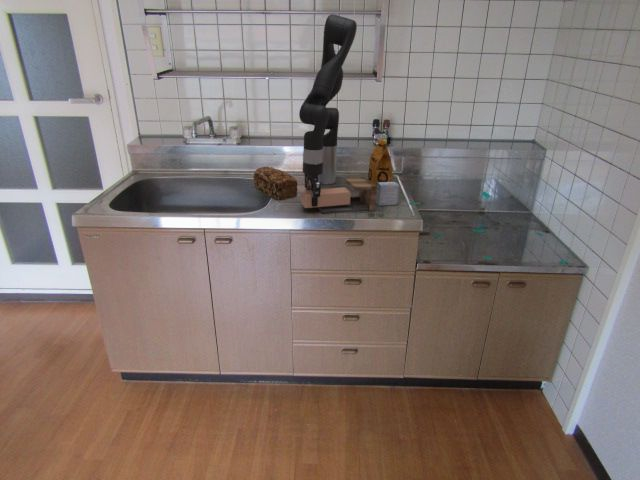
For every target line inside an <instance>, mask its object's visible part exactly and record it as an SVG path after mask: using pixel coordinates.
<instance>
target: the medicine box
mask: <svg viewBox="0 0 640 480" xmlns="http://www.w3.org/2000/svg"><path fill="white" fill-rule="evenodd" d="M399 189H400V184H399V183H397V182H396V181H391V182H378V183H377V193H376V197H375V204H377V205H378V207H379V206H380V207H381V206H382V207H383V206H396V205H398V200H399V199H398V198H399V191H400V190H399Z"/></svg>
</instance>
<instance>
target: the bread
mask: <svg viewBox="0 0 640 480" xmlns="http://www.w3.org/2000/svg"><path fill="white" fill-rule="evenodd" d="M253 184H254V188H255V189H256V191H259V192H261V193H262V194H265V195H266V196H268V197H270V198H271V197H272V198H273V199H276V200H279V201H280V200H286V199H287V198H293V197H296V196H297V195H298V194H297V193H298V181H297V179H296V177H294V176H293V175H290V173H288V172H286V171H284V170H281V169H278V168H275V167H273V166H271V167H269V166H262V167H259V168H257V169H255V171H254V173H253Z"/></svg>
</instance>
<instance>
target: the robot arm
mask: <svg viewBox="0 0 640 480" xmlns="http://www.w3.org/2000/svg"><path fill="white" fill-rule="evenodd" d="M357 27H358V26H357V21H355V20H353V19H351V18H348V17H344V16H341V15H338V14H329V15H328V16H327V18H326V21H325V23H324V27H323V39H322V40H323V41H322V44H323V45H322V55H321V57H322V58H321V65H320V69H319V71H318V72H317V73H316V76H315V79H314V81H313V85H312V87H311V88H312V89H311V90H310V92H309V93H308V95H307V96H306V97H305V100H304V101H303V103H302V104H301V107H300V109H299V114H298V115H299V120H300V122H301V123H302V124H305V125H311V126H314V128H313V130H309V131H308V130H307V131H306V132H305V133H304V135H303V150H302V151H303V153H302V173H303V174H304V188H305V190H310V191H311V194H312V206H313V208H316V207H315V206H318V197H320V192H321V189H322V185H332V184H334V183H336V180H337V179H336V177H337V154H338V149H337V148H338V134H339V122H340V111H339V109H338V107H327V105H328V104H329V103H330V102H331V101H332V100H333V99H334V98H335V97H337V95H338V93H340V91H341V88H342V85H343V80H344V70H343V65H344V64H345V61H346V59H347V58H348V57H347V56H348V55H349V52H350V50H351V48H352V45H353V43H354V41H355V38H356V33H357V30H358V29H357ZM335 45H337V46H340V48H339V50H338V51H337V53H336V50H335ZM326 130H329V131H328V132H327V133H325V132H326ZM315 192H316V194H315Z"/></svg>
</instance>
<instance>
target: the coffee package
mask: <svg viewBox="0 0 640 480" xmlns="http://www.w3.org/2000/svg"><path fill="white" fill-rule="evenodd" d="M382 139H383V138H382ZM382 139H381V138H377V140H376V143H377V145H376V146H375V148H374V149H373V150H372V152H371V154H370V156H369V163H368V164H369V165H368V172H367V179H368V180H369V181H370V182H372V183H373V184H374V185H376V193H377V183H378V182H393V181H392V179H393V166H392V159H391V154H390V151H389V148H388V146H387V142H385V141H383V140H382Z"/></svg>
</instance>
